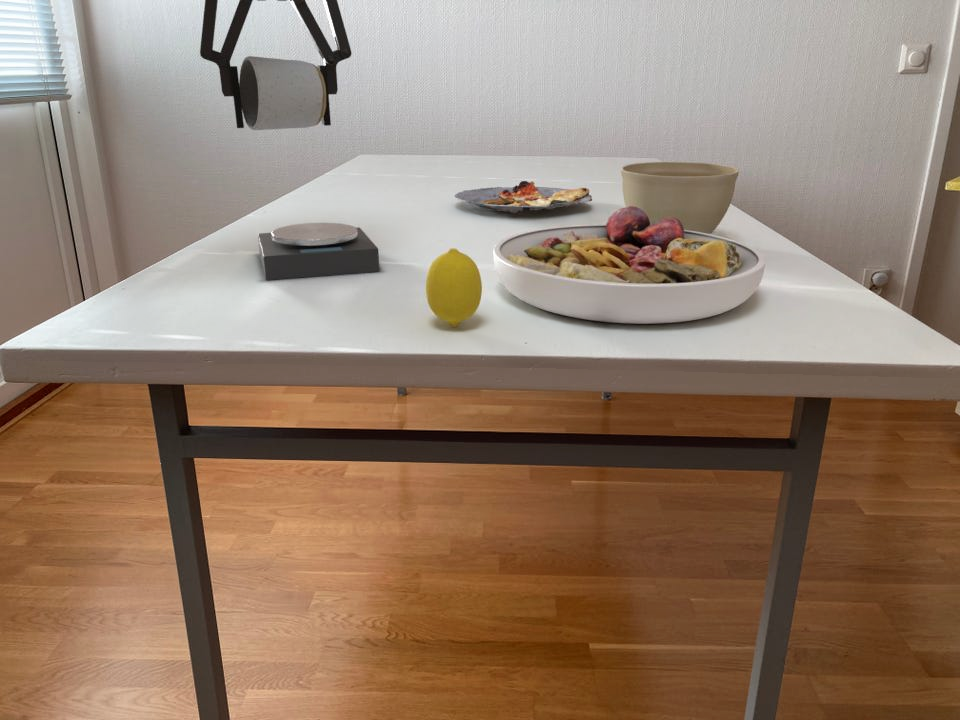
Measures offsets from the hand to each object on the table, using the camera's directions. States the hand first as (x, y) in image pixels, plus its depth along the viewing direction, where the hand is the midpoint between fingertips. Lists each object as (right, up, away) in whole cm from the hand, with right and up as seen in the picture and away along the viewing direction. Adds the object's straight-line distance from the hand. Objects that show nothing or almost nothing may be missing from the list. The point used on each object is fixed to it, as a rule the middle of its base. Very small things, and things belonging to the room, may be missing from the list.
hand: (283, 125), depth 90 cm
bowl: (+39, -19, 0) cm, 44 cm away
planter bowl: (+51, -10, +24) cm, 57 cm away
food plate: (+31, +1, +52) cm, 61 cm away
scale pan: (+1, -11, +12) cm, 16 cm away
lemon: (+20, -24, -12) cm, 33 cm away
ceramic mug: (0, 0, 0) cm, 1 cm away
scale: (+1, -14, +13) cm, 19 cm away
